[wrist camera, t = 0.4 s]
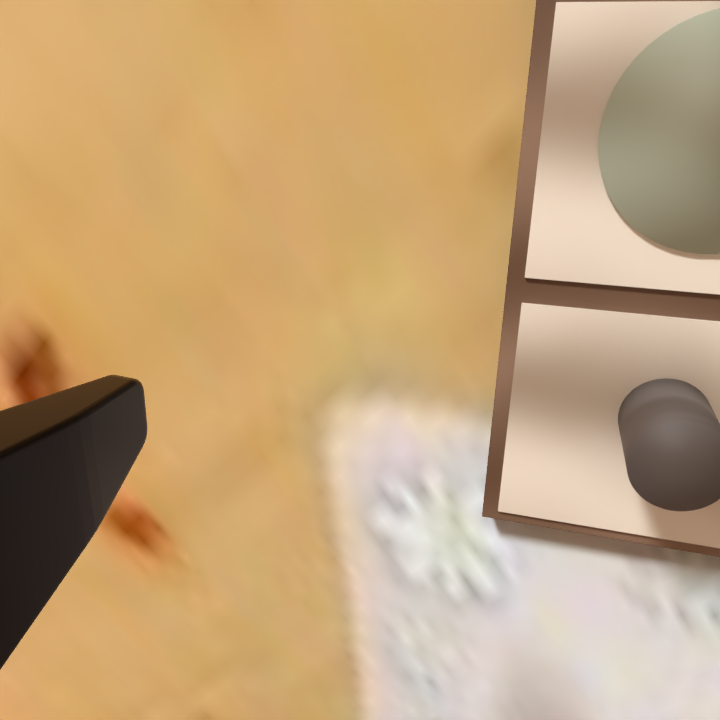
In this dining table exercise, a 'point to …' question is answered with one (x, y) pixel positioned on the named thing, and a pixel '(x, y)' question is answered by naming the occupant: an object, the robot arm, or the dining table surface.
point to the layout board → (615, 280)
